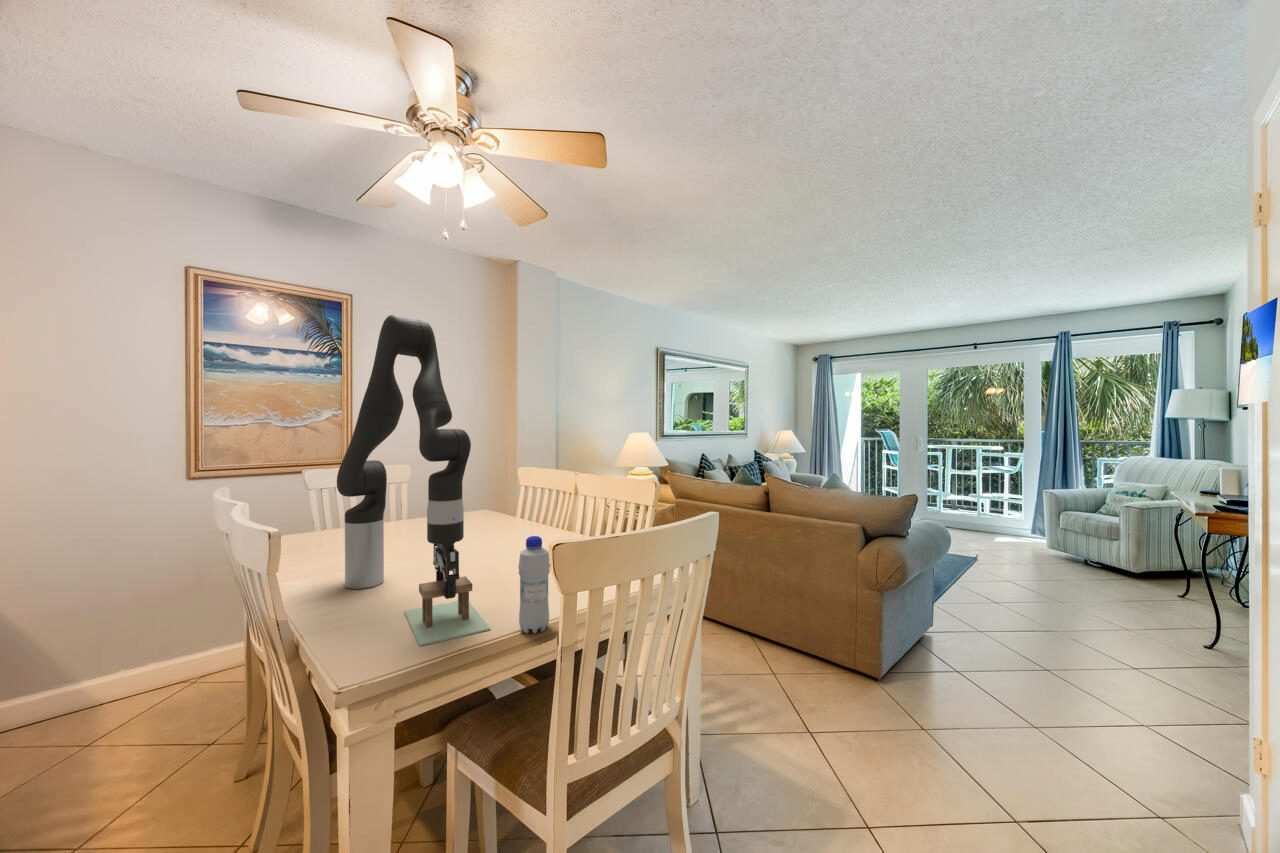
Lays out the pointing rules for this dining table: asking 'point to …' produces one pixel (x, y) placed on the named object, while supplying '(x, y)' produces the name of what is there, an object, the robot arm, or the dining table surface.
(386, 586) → the dining table surface
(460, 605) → the stool
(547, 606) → the bottle
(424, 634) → the mat
